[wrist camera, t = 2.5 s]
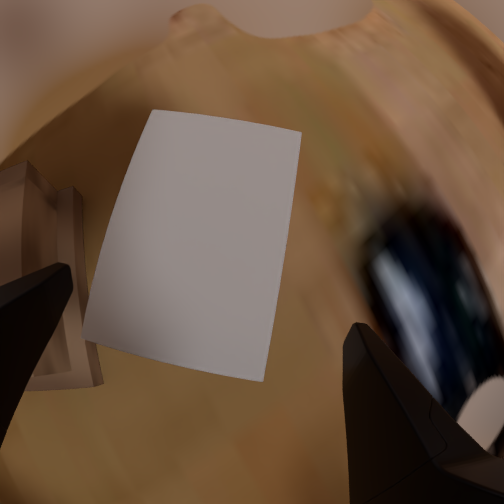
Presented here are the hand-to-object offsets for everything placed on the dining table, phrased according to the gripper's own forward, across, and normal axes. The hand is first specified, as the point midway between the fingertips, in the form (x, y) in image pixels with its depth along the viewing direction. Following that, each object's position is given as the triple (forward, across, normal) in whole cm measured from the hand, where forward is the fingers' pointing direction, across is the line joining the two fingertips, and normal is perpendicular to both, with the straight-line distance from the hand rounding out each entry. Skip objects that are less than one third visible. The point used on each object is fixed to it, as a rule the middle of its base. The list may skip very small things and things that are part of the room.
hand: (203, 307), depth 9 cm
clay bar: (+7, 0, +6) cm, 9 cm away
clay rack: (+5, +13, +7) cm, 16 cm away
